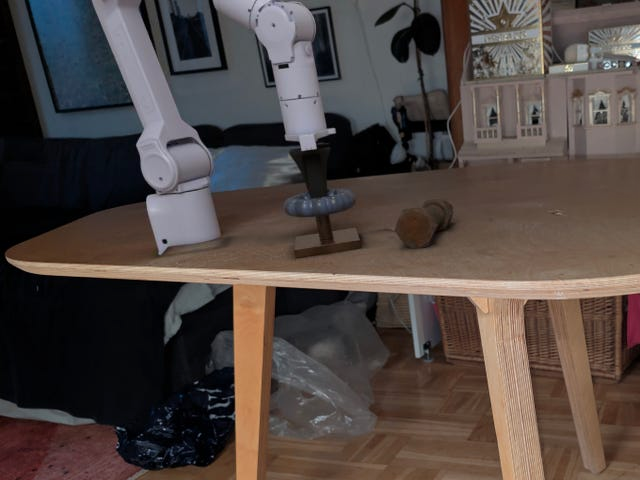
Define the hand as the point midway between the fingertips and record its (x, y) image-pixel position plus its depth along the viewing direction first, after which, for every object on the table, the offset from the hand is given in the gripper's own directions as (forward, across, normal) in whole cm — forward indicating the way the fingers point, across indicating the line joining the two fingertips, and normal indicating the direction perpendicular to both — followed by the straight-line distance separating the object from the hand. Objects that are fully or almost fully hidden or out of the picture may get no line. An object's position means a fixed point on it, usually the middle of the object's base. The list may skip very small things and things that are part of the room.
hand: (319, 197), depth 102 cm
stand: (+6, -4, 0) cm, 7 cm away
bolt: (+7, -7, -15) cm, 18 cm away
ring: (0, -4, 0) cm, 4 cm away
